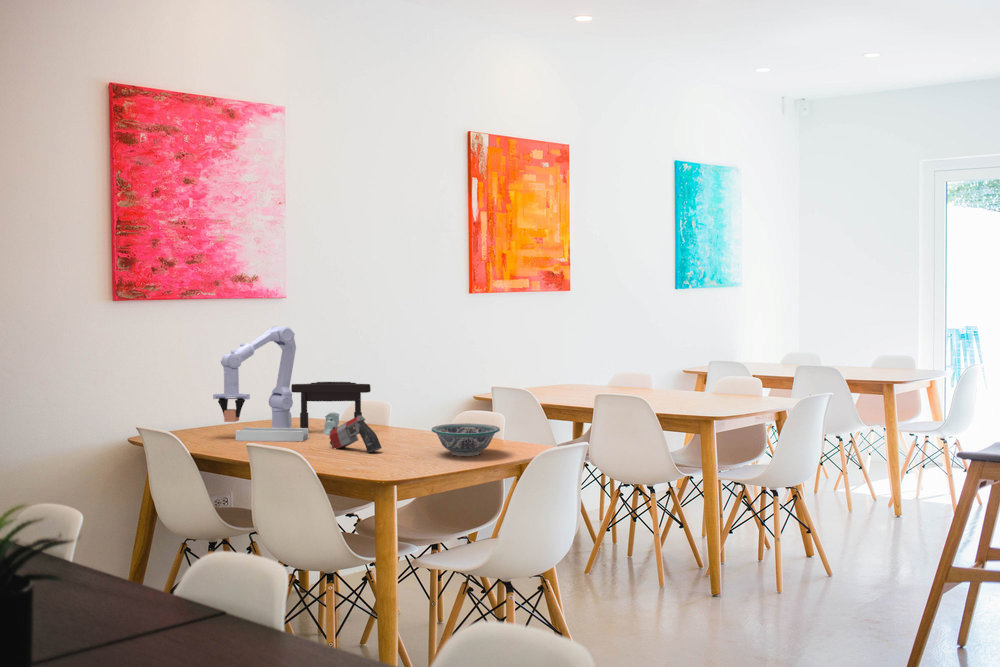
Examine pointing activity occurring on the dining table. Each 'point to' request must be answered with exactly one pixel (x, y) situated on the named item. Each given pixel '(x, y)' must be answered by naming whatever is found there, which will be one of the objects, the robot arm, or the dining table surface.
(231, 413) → the block
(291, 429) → the trap channel
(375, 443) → the toy gun
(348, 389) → the black side table
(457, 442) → the bowl
